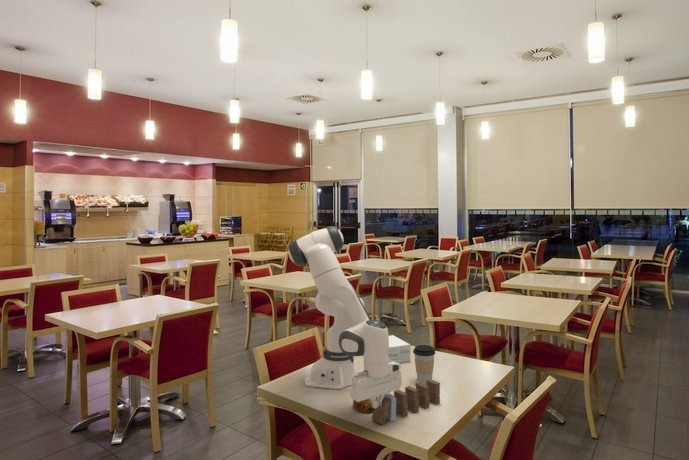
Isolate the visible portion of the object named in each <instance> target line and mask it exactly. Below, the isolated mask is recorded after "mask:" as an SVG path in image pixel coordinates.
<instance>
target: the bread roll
mask: <svg viewBox="0 0 689 460" xmlns="http://www.w3.org/2000/svg"><path fill="white" fill-rule="evenodd" d="M378 396H379V395H378ZM378 396H376V399H375V401H377V399H378ZM352 404H353V408H354V409H355V411H356V410H357V411H356V412H358V411H359V413H362V414H363V413H364V414H368V413H373V411H374V408H373V407H372V402H371V400H370V398H369V399H366V400H363V401H360V402H357V401H355V400H353V399H352Z"/></svg>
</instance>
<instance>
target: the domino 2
mask: <svg viewBox="0 0 689 460" xmlns="http://www.w3.org/2000/svg"><path fill="white" fill-rule="evenodd" d="M384 398H386V399H388V400H390V401H391V406H390V409H389V412H388V415H387V418H386V420H388V421H389V422H395V421H396V419H397V418H396V415H397V413H396V398H395V397H394V395H392V394H391V393H390V392H388V393H385V394H384Z"/></svg>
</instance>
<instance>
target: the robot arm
mask: <svg viewBox="0 0 689 460" xmlns="http://www.w3.org/2000/svg"><path fill="white" fill-rule="evenodd" d="M339 229H340V228H339ZM339 229H338V227H337V226H335V225H330V226H326V227H325V228H321V229H316V230H315V231H312V232H310V233H308V234H306V235H304V236H302V237H299V238H298V239H294V240H293V241H292V242H290V243H289V245H288V251H287V252H288V256H289V259H290V260H291V262H292V263H293V264H295V266H298V267H305V268H306V267H307V264H308V267H309V271H310V274H311V276H312V279H313V281H314V284H315V287H316V288H317V294H316V296H315V299H314V305H315V307H316V309H317V310H318V311H320V312H321V313H322V314H324V315H326V316H332V317H334V322H333V325H332V326H330V327H329V328H328V330H327V331H326V346H323V347H322V357H320V358H319V359H318V360H317V361H316V362H315V363H313V364H312V365H311V369H310V372H309V374H307V375H306V377H305V378H304V385H305V386H306V387H311V388H312V387H314V388H319V389H320V388H321V389H323V388H324V389H331V390H333V389H334V390H341V389H343V388H347V387H350V386H351V387H350V397H351V399H352V401H353V400H355V401H357V402H360V401H363V400H366V399H369V398H370V400H371V402H372V407H373V408H378V407H381V406H382V400H383V398H384V394H385V393H390V392H394V391H395V390H400V389H401V387H402V383H403V382H402V381H403V380H402V371H401V367H402V366H401V365H402V364H398V363H396V362H394V361H391V360H389V356H388V349H389V336H390V335H389V330H388V327H387V324H386V323H384V322H383V321H381V320H378V319H372V318H371V316H370V315H369V313H368V311H367V309H366V308H365V301H364V300H363V299H362V298H361V296H359V295H358V292H357V291H356V289H355V288H354V286H353V285H352V284H351V283H350V282H349V281H348V279H347V277H346V275H345V273H344V271H343V270H342V269H343V268H342V267H341V264H340V262H339V260H338V258H337V257H336V254H335V253H337V252H339V251H340V250H342V249H343V247H344V244H345V243H344V235H343V233H342V232H341V231H340V230H339ZM355 357H362V358H363V371H360V372H356V371H355V364H354V363H355V362H354V361H355ZM376 396H378V399H377V401H375V399H376Z"/></svg>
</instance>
